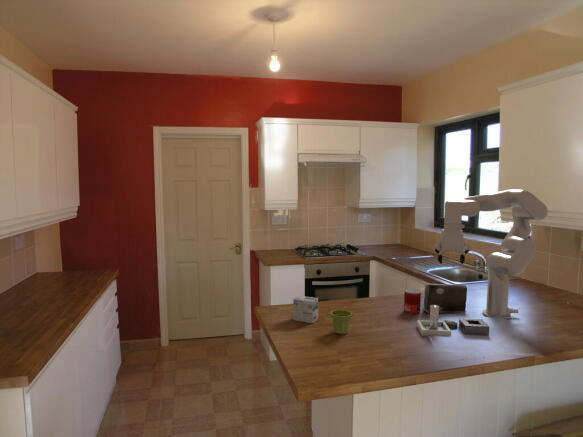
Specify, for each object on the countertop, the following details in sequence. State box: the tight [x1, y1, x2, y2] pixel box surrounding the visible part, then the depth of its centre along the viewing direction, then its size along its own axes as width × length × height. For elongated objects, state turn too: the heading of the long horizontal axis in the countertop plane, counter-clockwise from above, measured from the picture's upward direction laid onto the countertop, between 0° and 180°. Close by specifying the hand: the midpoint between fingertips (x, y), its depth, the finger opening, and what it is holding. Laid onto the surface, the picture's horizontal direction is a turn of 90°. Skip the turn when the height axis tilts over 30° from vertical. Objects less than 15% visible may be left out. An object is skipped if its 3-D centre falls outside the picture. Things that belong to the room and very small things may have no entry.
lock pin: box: [428, 305, 440, 330], centre depth 178 cm, size 4×4×11 cm
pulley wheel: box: [440, 319, 459, 330], centre depth 182 cm, size 7×7×3 cm
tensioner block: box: [458, 317, 490, 337], centre depth 176 cm, size 10×9×5 cm
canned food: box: [403, 288, 422, 315], centre depth 204 cm, size 8×8×11 cm
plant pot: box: [330, 309, 353, 335], centre depth 177 cm, size 9×9×9 cm
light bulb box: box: [292, 295, 319, 324], centre depth 192 cm, size 11×7×11 cm, turn 65°
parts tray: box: [416, 319, 452, 337], centre depth 178 cm, size 12×12×3 cm
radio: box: [422, 283, 468, 314], centre depth 205 cm, size 23×9×15 cm, turn 92°
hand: (451, 263), depth 188 cm, fingers open, 9 cm apart
